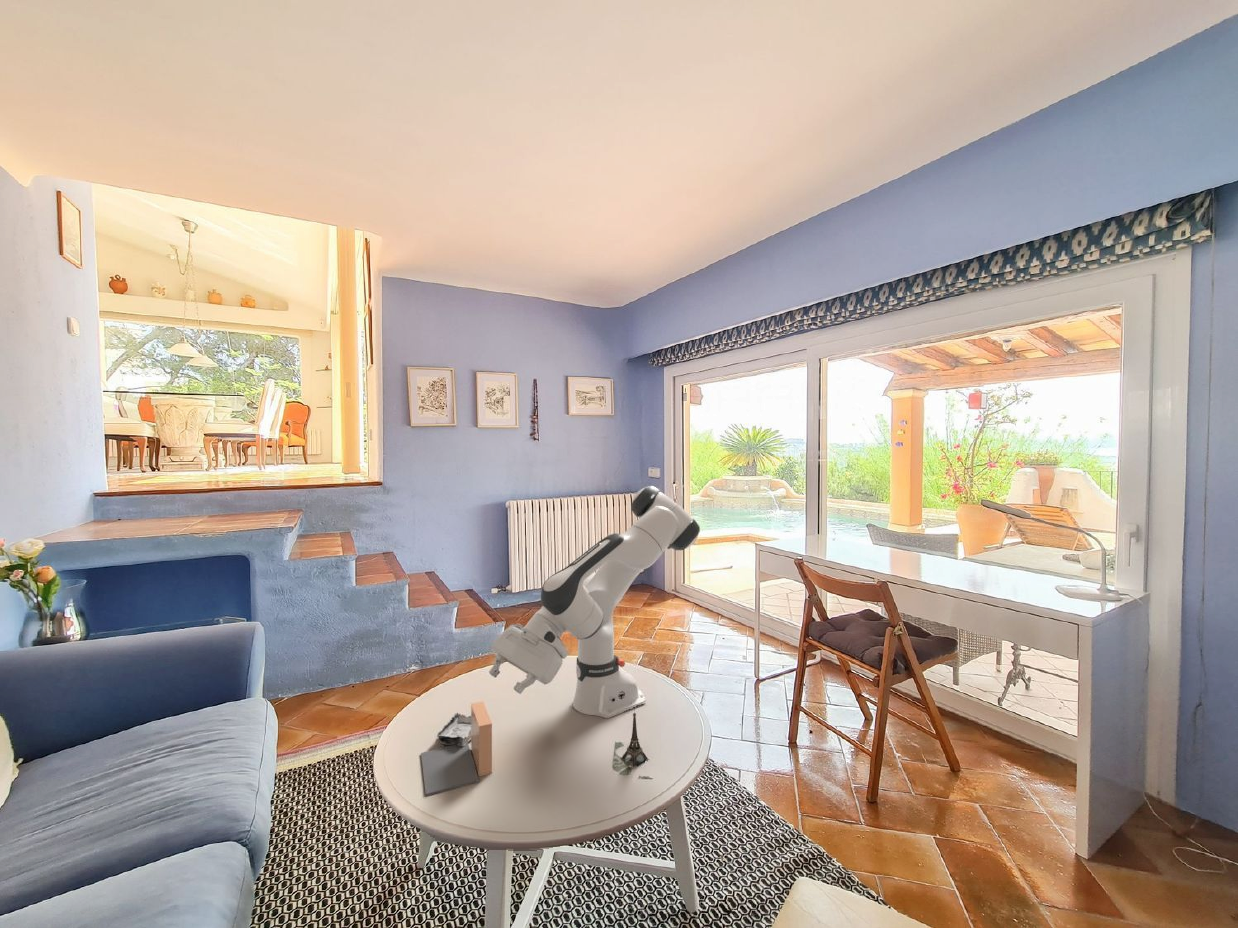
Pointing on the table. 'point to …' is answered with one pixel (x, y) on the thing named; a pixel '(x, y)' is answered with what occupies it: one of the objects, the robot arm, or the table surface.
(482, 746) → the orange block
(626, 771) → the eiffel tower figurine
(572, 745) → the table surface
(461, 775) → the mat
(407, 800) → the table surface
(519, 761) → the table surface
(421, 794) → the table surface
